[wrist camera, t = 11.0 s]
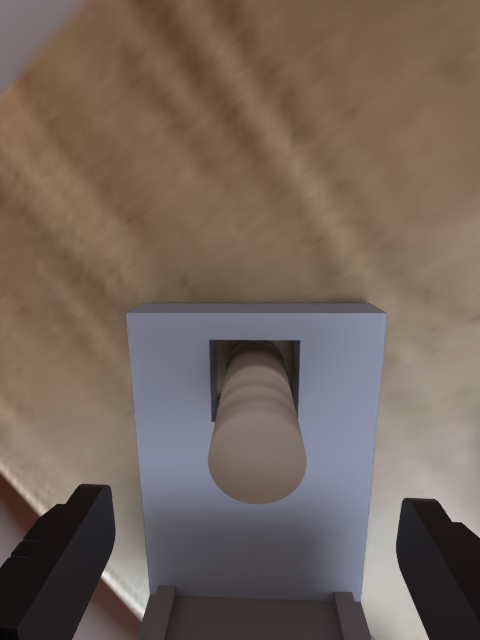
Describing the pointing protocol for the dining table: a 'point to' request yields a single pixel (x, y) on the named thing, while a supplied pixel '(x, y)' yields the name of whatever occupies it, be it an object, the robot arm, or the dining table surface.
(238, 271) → the dining table surface
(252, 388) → the peg
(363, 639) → the socket board
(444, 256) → the dining table surface
